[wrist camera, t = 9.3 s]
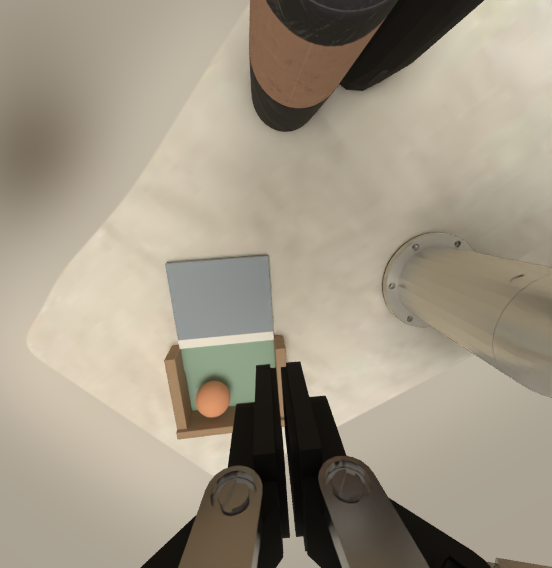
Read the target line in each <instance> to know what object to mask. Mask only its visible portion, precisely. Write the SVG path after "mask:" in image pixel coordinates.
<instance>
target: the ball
mask: <svg viewBox="0 0 552 568" xmlns="http://www.w3.org/2000/svg"><path fill="white" fill-rule="evenodd" d="M229 404H230V392H229V389H228V388H227V386H226V385H225V384H223V383H222V382H220V381H209V382H207V383H205V384H204V385H202V386H201V387H200V389H199V390H198V392H197V395H196V406H197V409H198V411H199V412H200V413H201V414H202V415H204V416H206V417H217V416H220V415H221V414H223V413H224V412H225V411H226V409H227V408H228V406H229Z"/></svg>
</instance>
